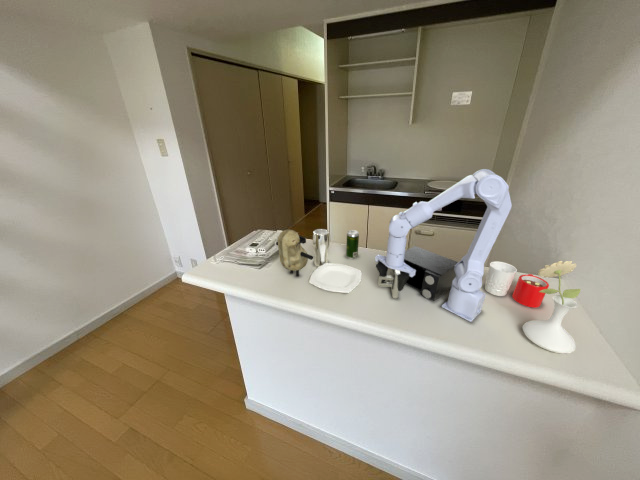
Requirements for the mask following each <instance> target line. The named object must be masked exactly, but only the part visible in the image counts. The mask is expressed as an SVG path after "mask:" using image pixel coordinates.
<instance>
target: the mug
mask: <svg viewBox="0 0 640 480" xmlns="http://www.w3.org/2000/svg"><path fill="white" fill-rule="evenodd" d="M549 287H550V284H549V282H548V281H547V280H546V279H543V278H541V277H540V276H536V275H534V274H532V273H528V274H521V275H519V277H518V279H517V282H516V285H515V287H514V290H513V293H512V295H511V297H512V299H513V301H515V302H516V303H518V304H520V305H522V306H524V307H529V308H539V307H541V306H542V303H543V301H544V299H545V296H546V295H547V294H546V293H542V292H539V291H541V290H543V289H549Z"/></svg>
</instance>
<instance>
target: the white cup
mask: <svg viewBox="0 0 640 480" xmlns="http://www.w3.org/2000/svg"><path fill="white" fill-rule="evenodd" d="M517 271H518V269H517V268H516V267H515V266H514V265H512V264H510V263H508V262H504V261H499V260H497V261H496V260H495V261H491V262H489V265H488V270H487V274H486V278H485V284H484V290H485V291H486V292H488V293H489V294H491V295H494V296H498V297H505V296H506V295H507V294H508V292H509V289H510V288H511V285H512V283H513V281H514V278H515V276H516V275H517Z"/></svg>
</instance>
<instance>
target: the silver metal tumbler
mask: <svg viewBox="0 0 640 480" xmlns="http://www.w3.org/2000/svg"><path fill="white" fill-rule="evenodd" d="M312 247H313V252H314V263H313V264H314V265H315V266H316V267H317V268H318V267H320V266H321V265H323V264H325V263H329V260H328V253H329V249H330V248H329V247H330V231H329V230H328V229H325V228H317V229H314V230H313V231H312Z"/></svg>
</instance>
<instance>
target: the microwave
mask: <svg viewBox="0 0 640 480" xmlns="http://www.w3.org/2000/svg"><path fill="white" fill-rule="evenodd" d="M458 262H459V261H456V260H454V259H451V258H448V257H446V256H443V255H440V254H438V253H435V252H432V251H430V250H427V249H424V248H422V247H419V246H416V245H413V246H412V247H410V248H408V249H405V256H404V263H405V264H407V265H408V266H410V267H411V268H413V269H415V270H416V272H415V275H414V276H413V277H409V279H408V280H407V282H406V283H405V285H406V286H408V287H410V288H412V289H413V290H416V291H418V292H420V295H421V296H423V297H424V298H426V299H428V300H430V301H432V302H435V301H436V300H438V299H439V298H440V297H441V296H443V295H444V294H446V293H447V292H448V291H450V289H451V285H452V281H453V280H454V278H455V277H456V274H455V271H454V268H455V265H456V264H457V263H458ZM400 273H402V271H400Z"/></svg>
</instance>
